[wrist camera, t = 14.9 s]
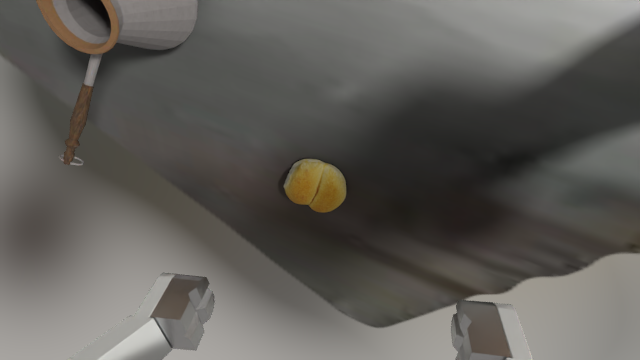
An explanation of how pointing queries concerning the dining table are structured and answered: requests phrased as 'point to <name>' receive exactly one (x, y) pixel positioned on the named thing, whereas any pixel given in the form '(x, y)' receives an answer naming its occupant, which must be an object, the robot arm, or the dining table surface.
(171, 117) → the dining table surface
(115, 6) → the coffee pot
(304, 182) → the bread roll
